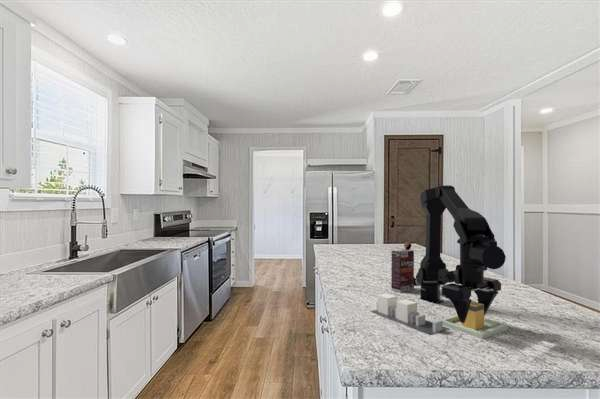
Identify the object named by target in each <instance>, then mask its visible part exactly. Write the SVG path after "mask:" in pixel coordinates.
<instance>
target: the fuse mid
mask: <svg viewBox="0 0 600 399" xmlns="http://www.w3.org/2000/svg"><path fill="white" fill-rule="evenodd" d="M396 309H397V319H399V320H401V321H404V322H407V323H409V322H410V314H411V313H415V312H418V303H417V302H415V301H413V300H409V299H406V298H405V299H402V300H397V301H396Z"/></svg>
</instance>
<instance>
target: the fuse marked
mask: <svg viewBox="0 0 600 399" xmlns="http://www.w3.org/2000/svg"><path fill="white" fill-rule="evenodd" d="M484 318H485V316H484V304H481V303H478V301H473V300H471V304H470V307H469V310H468V314H467V317H466V320H465V323H461V322H460V323H461V325H460V326H463V327H466V328H469V329H472V330H475V331H478V330H480V329H483V328H485V323H484Z"/></svg>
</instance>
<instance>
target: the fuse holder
mask: <svg viewBox="0 0 600 399" xmlns="http://www.w3.org/2000/svg"><path fill="white" fill-rule="evenodd" d="M389 309H390V315H386V314H383V313H380V312H378V301H377V302H376V309H374V310H370V313H372V314H375V315H378V316H380V317H383V318H385V319H388V320H389V321H393V322H396V323H397V324H400V325H403V326H406V327H408V328H411V329H413V330H415V331H418V332H421V333H423V334H425V335H428V336H433V335H436V334H439V333H442V332H445V331H449V330H450V328H449V327H446V326H443V321H442V320H439V319H438V320H435V321H429V320H426V314H422V313H421V314H420V313H419V312H418V311H417V312H415V313H411V314H410V322H409V323H407V322H404V321H401V320H399V319H397V309H396V305H395V306H391V307H389Z"/></svg>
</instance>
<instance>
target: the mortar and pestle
mask: <svg viewBox="0 0 600 399" xmlns="http://www.w3.org/2000/svg"><path fill="white" fill-rule="evenodd" d="M403 247H404V249H407V250H411V248H412V243H411V242H410V241H406V242H404V244H403ZM415 285H417V282H416V276H414V286H415Z"/></svg>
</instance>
